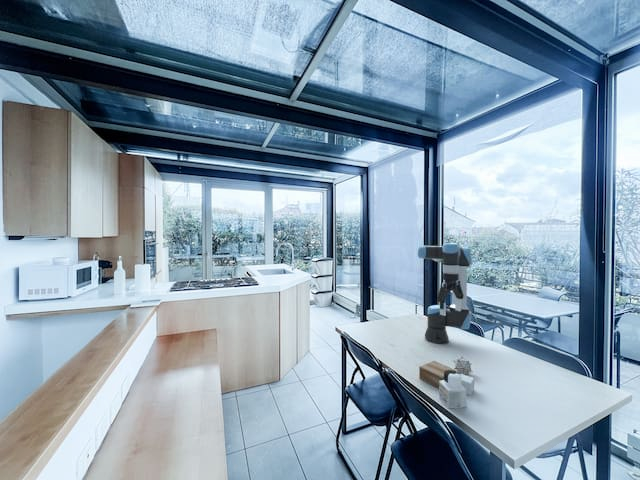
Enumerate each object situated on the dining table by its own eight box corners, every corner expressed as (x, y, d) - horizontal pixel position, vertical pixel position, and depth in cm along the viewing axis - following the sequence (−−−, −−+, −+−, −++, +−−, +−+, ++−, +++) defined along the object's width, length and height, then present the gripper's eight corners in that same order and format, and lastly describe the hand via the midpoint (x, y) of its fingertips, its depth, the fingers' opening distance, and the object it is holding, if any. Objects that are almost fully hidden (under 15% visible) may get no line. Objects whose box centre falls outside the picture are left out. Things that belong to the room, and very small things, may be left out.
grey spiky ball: (467, 353, 140) (470, 359, 130) (473, 370, 138) (477, 377, 128) (450, 356, 142) (451, 361, 133) (455, 372, 140) (457, 379, 131)
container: (438, 397, 115) (438, 368, 115) (455, 396, 116) (455, 367, 116) (448, 409, 108) (448, 377, 107) (466, 408, 108) (466, 376, 108)
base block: (434, 372, 137) (434, 360, 137) (456, 382, 127) (456, 370, 127) (419, 378, 131) (419, 366, 131) (441, 390, 121) (441, 377, 121)
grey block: (459, 385, 125) (460, 373, 125) (474, 390, 120) (474, 377, 120) (456, 391, 120) (456, 378, 120) (470, 396, 116) (470, 383, 116)
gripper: (457, 269, 147) (457, 307, 147) (429, 274, 134) (429, 315, 134) (470, 271, 140) (470, 310, 141) (442, 276, 127) (442, 319, 128)
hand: (450, 312), depth 137 cm, fingers open, 13 cm apart
